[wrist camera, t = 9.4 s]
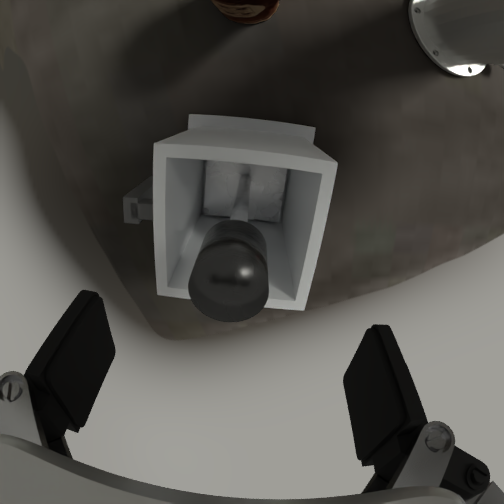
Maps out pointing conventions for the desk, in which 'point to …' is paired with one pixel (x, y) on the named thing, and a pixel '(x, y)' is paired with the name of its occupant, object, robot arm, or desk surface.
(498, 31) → the robot arm
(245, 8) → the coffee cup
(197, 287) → the plunger
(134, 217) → the press housing
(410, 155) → the desk surface
